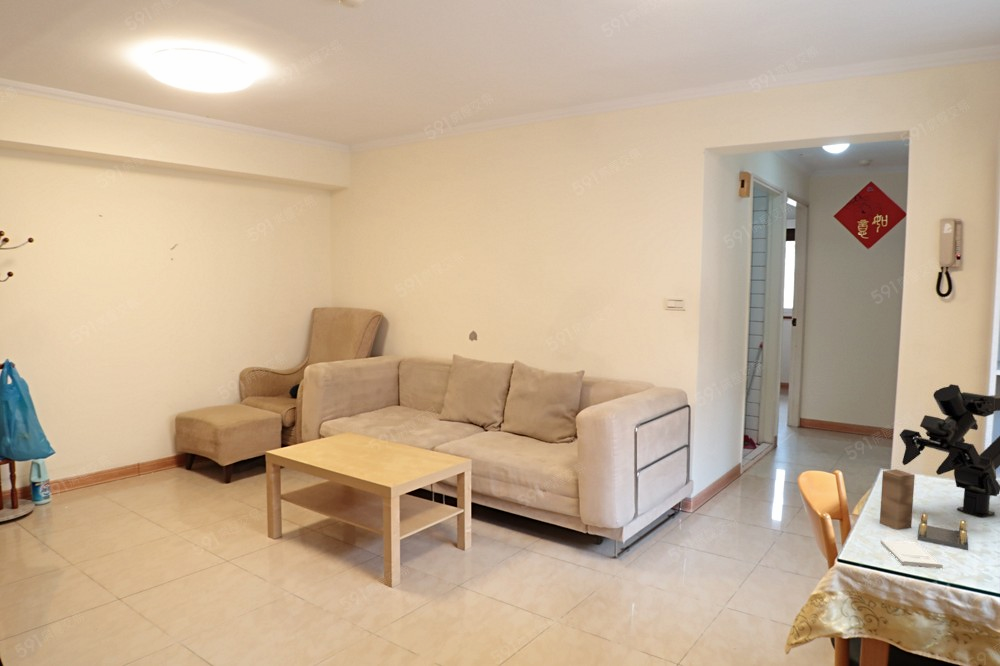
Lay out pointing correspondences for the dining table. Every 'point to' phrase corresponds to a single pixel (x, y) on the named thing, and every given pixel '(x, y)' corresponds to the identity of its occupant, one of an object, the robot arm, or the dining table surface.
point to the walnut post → (897, 499)
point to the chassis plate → (943, 534)
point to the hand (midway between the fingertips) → (919, 468)
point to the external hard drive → (910, 553)
